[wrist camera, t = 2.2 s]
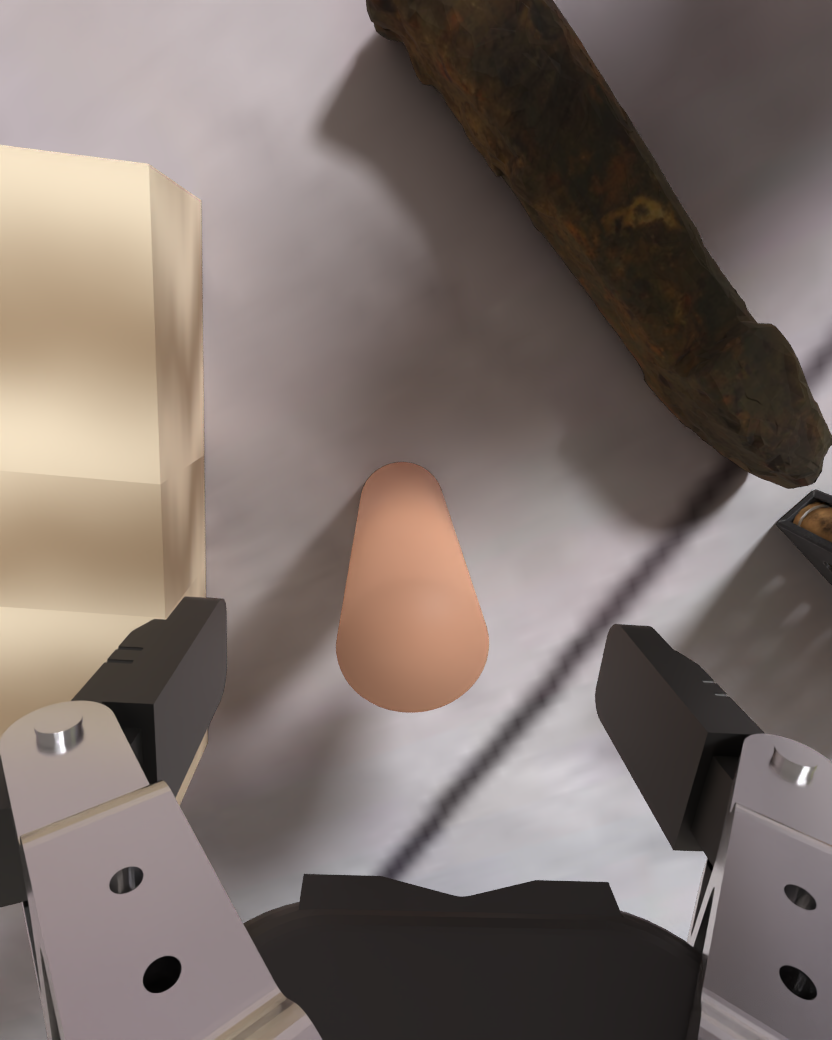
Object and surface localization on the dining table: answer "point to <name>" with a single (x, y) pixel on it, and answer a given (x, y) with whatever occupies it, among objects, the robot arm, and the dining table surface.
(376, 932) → the robot arm
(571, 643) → the dining table surface
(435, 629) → the peg
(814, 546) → the ammunition clip
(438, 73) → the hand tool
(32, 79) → the dining table surface
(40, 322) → the hole block
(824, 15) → the dining table surface
